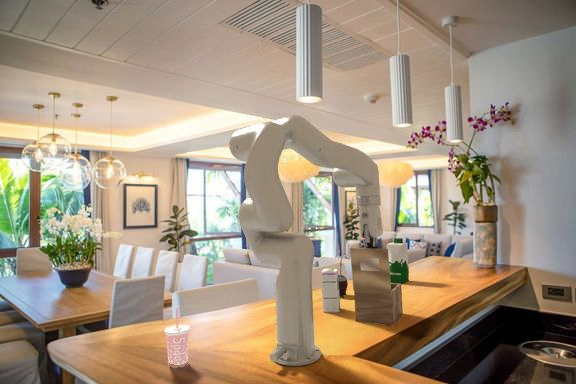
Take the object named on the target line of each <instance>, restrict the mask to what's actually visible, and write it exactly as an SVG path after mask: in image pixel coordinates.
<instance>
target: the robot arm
mask: <svg viewBox="0 0 576 384" xmlns="http://www.w3.org/2000/svg"><path fill="white" fill-rule="evenodd" d="M228 147H229V151H230V153H231V155H232V156H233V157H234V158H235V159H237V160H238V161H241V162H246V163H245V166H244V171H243V172H244V173H243V180H244V181H243V182H244V185H245V188H246V191H247V193H248V198H246V199H245V200H244V201H243V202H242V203H241V204H240V207H239V210H238V222H239V225H240V228H241V230H242V233H243V234H244V236H245V238H246V241H247V243H248V245H249V247H250V249H251V251H252V253H253V255H254V257H255V258H256V260H257V261H258V262H259V263H260V264H262V265H264V266H266V267H272V268H278V269H279V271H278V275H277V278H276V280H275V283H274V284H275V286H274V295H275V316H276V319H275V320H276V341H277V342H276V346H275V348H274V349H273V350H272V351H271V354H270V355H269V359H270V361H271V362H273V363H274V362H276V363H277V364H279V365H283V366H287V367H288V366H290V367H298V366H299V367H301V366H307V365H311V364H313V363H316V362H317V361H318V360H319V359H321V356H322V350H321V347H319V346H317V345H316V344H315V326H314V324H315V322H314V303H313V268H314V261H315V260H314V259H315V245H314V243H313V241H312V240H311V238H310V237H309V236H307V235H306V234H304V233H301V232H298V231H297V232H296V231H289V230H290V229H291V228H292V227H293V226H294V222H295V214H294V209H293V208H292V205H291V202H290V201H289V198H288V196H287V195H288V194H287V193H286V191H285V188H284V186H283V183H282V181H281V178H280V174H279V163H280V159H281V155H282V153H283V151H284V150H289V149H290V150H293V151H294V152H295V153H297V154H298V155H300V156H301V157H302V158H303V159H305V160H306V161H308V162H309V163H310V164H312V165H314V166H316V167H321V168H325V169H333V171H332V180H333V183H334V184H335V185H336V186H338V187H340V188H355V196H356V207H357V208H359V211H358V212H359V213H358V217H359V218H358V219H359V232H360V233H359V234H360V237H361V238H362V239H364V244H365V248H379V247H378V238H379V237H381V236H382V235H383V234H384V230H383V229H384V228H383V221H382V220H383V219H382V214H381V208H380V206H382V202H381V189H380V188H381V187H380V172H379V166H378V164H377V163H376V162H375V161H374V160H373V159H372V157H371V158H370V156H368V155H367V154H366V153H365V152H363V151H362V150H360V149H358V148H356V147H353V146H350V145H347V144H344V143H341V142H338V141H335V140H332V139H330V138H329V137H328V136H327V134H324V133H323V131H321V130H319V129H318V128H317V127H315V125H313V124H312V123H311V122H310V121H309V120H307V119H306V118H304V117H303V116H301V115H296V114H294V115H288V116H284V117H280V118H278V119H274V120H271V121H266V122H265V121H264V122H261V123H257V124H254V125H251V126H248V127H244V128H241V129H238V130H236V131H235V132H233V134H232V135H231V137H230V139H229V142H228Z"/></svg>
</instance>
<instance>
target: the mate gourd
mask: <svg viewBox="0 0 576 384" xmlns="http://www.w3.org/2000/svg"><path fill="white" fill-rule="evenodd" d="M342 261H343V258H342V256H341V257H340V261H339V274H338V279H339V294H340V298H345V297H344V296H347V290H348V287H349V285H348V278H347V277H346V276H345V275H343V274H342V266H343V265H342Z"/></svg>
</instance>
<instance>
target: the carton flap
mask: <svg viewBox="0 0 576 384" xmlns="http://www.w3.org/2000/svg"><path fill="white" fill-rule="evenodd" d="M349 252H350V263H351V265H350V266H351V273H352V274H351V276H352V286H353V288H352V289H353V292H354V291H361V292H374V293H386V294H391V281H390V268H389V255H388V249H387V248H379V247H378V248H366V247H349Z"/></svg>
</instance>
